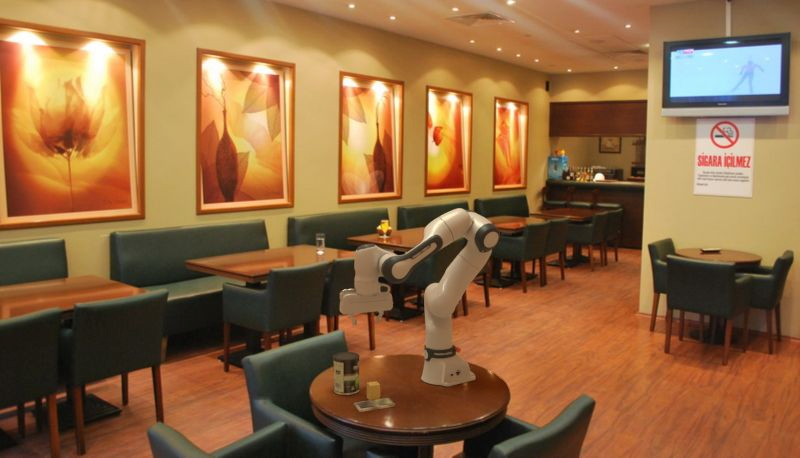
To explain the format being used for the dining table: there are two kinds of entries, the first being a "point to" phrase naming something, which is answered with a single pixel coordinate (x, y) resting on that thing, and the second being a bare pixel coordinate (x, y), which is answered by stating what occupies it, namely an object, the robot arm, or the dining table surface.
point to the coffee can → (346, 373)
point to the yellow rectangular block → (373, 390)
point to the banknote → (373, 404)
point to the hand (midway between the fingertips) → (366, 323)
